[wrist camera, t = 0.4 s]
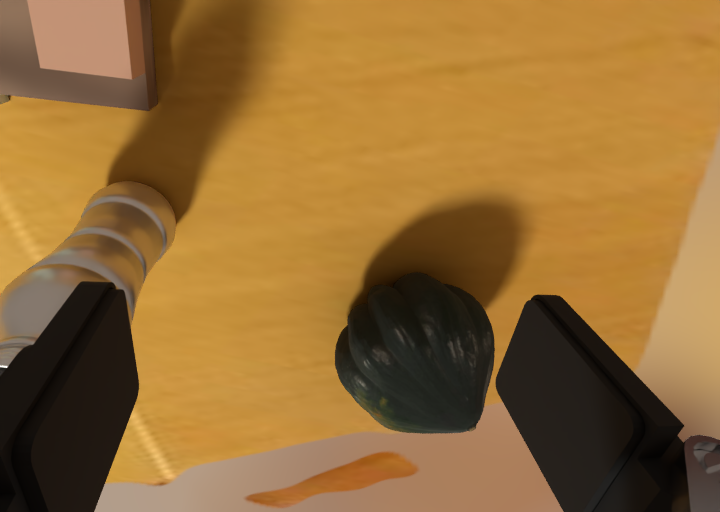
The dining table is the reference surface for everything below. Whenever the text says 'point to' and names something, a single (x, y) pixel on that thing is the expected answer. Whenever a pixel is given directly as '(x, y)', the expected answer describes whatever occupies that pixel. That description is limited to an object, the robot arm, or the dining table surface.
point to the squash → (418, 356)
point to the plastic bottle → (89, 261)
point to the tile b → (89, 36)
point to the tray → (3, 98)
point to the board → (26, 79)
